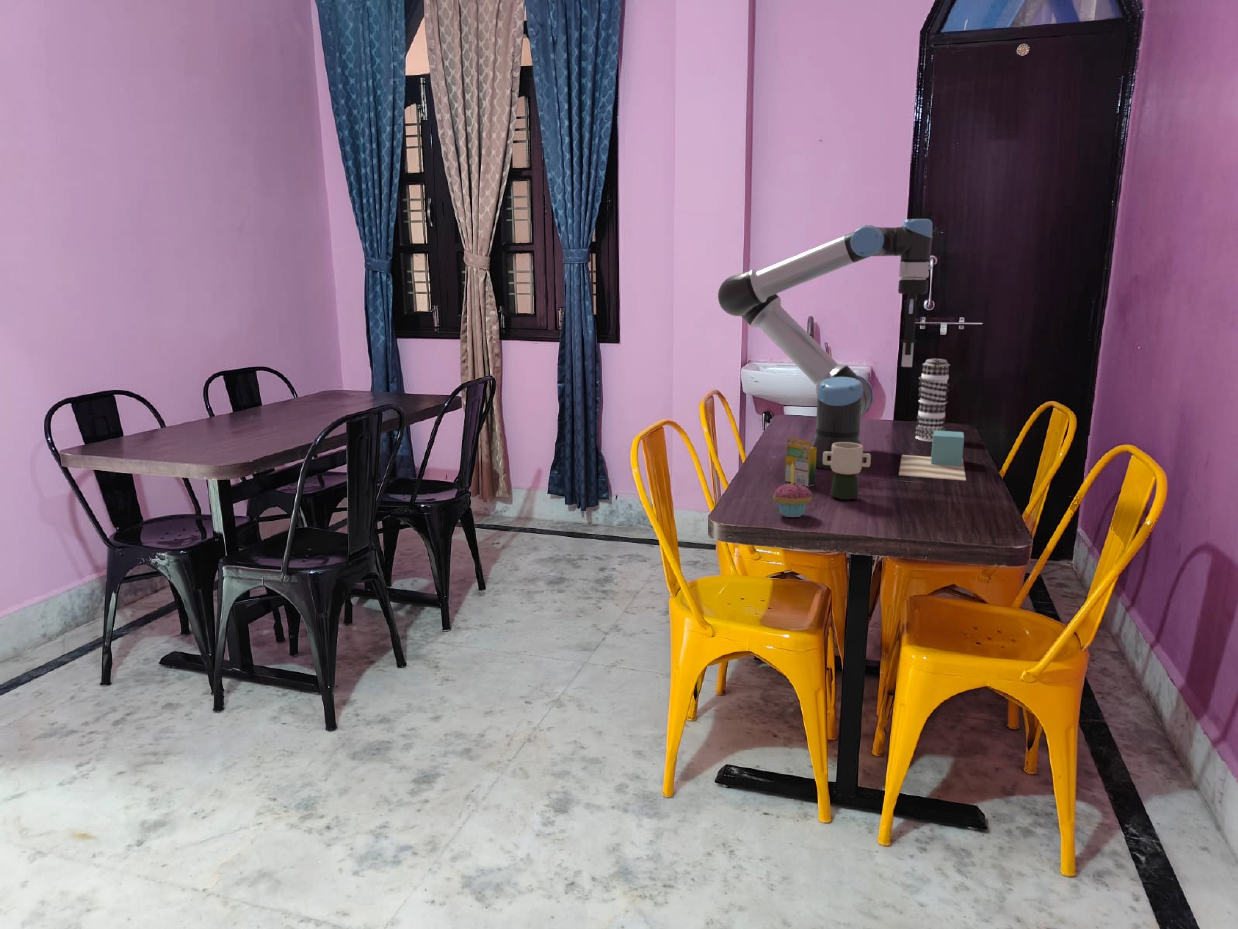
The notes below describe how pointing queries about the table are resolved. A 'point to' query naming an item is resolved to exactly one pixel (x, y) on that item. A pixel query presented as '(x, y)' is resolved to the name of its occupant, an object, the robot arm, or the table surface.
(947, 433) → the teal cube
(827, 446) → the robot arm
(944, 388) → the decorative candle
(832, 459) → the character mug
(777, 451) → the table surface
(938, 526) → the table surface
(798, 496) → the cupcake
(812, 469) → the crayon box
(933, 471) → the base board
